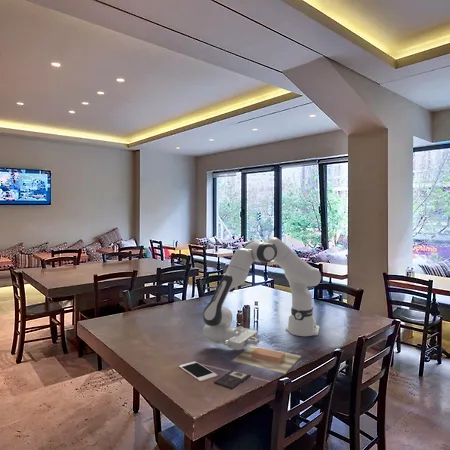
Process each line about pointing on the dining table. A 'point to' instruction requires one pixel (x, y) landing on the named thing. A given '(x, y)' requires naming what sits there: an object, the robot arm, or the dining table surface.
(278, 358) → the tile
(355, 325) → the dining table surface
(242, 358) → the board
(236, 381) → the chocolate bar
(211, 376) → the cell phone
